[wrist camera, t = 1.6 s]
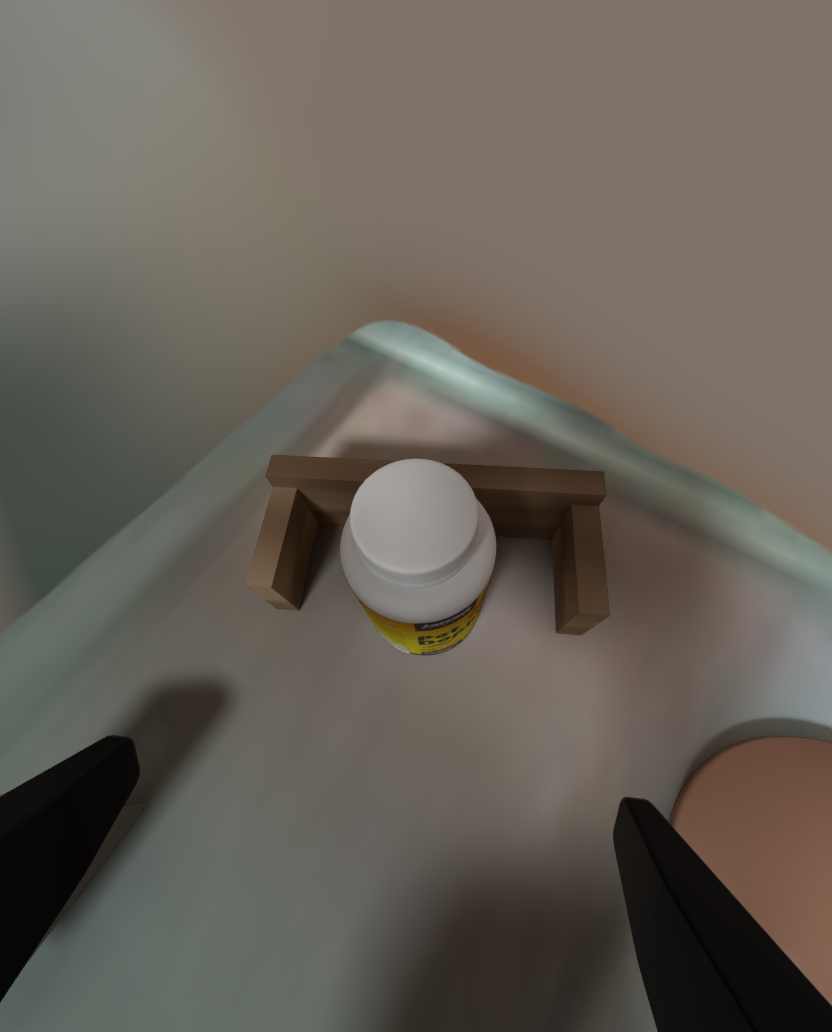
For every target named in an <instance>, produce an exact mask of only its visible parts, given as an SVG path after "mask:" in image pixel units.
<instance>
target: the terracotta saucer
mask: <svg viewBox="0 0 832 1032" xmlns="http://www.w3.org/2000/svg"><path fill="white" fill-rule="evenodd" d="M669 823H670V824H671V825H672V827H673V828H674V829H675V830H676V831H677V832H678V833H679V834H680V836H681V837H682V838H683V839H684V840H685V841H686V842H687V843H688V845H689V846H690V847H691V848H692V849H693V850H694V851H695V852H696V853H697V855H698V856H699V857H700V858H701V859H702V860H703V861H704V862H705V864H706V865H707V866H708V867H709V868H710V869H711V870H712V871H713V873H714V874H715V875H716V876H717V877H718V878H719V879H720V880H721V882H722V883H723V884H724V885H725V886H726V887H727V888H728V889H729V891H730V892H731V893H732V894H733V895H734V896H735V897H736V898H737V900H738V901H739V902H740V903H741V904H742V905H743V906H744V907H745V909H746V910H747V911H748V912H749V913H750V914H751V915H752V916H753V918H754V919H755V920H756V921H757V922H758V923H759V924H760V925H761V927H762V928H763V929H764V930H765V931H766V932H767V933H768V934H769V936H770V937H771V938H772V939H773V940H774V941H775V942H776V943H777V945H778V946H779V947H780V948H781V949H782V950H783V951H784V952H785V954H786V955H787V956H788V957H789V958H790V959H791V960H792V961H793V963H794V964H795V965H796V966H797V967H798V968H799V969H800V970H801V972H802V973H803V974H804V975H805V976H806V977H807V978H808V979H809V981H810V982H811V983H812V984H813V985H814V986H815V987H816V988H817V990H818V991H819V992H820V993H821V994H822V995H823V996H824V997H825V999H826V1000H827V1001H828V1002H829V1003H830V1004H831V1005H832V743H828V742H824V741H820V740H815V739H806V738H798V737H763V738H757V739H751V740H745V741H742V742H740V743H737V744H734V745H731V746H728V747H727V748H725V749H723V750H721V751H719V752H717V753H716V754H714V755H713V756H711V757H710V758H709V759H708V760H706V761H705V762H704V763H703V764H702V765H700V767H699V768H698V769H697V770H696V771H695V772H694V773H693V775H692V776H691V777H690V778H689V779H688V781H687V783H686V784H685V786H684V788H683V789H682V791H681V792H680V794H679V796H678V799H677V801H676V804H675V806H674V808H673V811H672V814H671V818H670V822H669Z"/></svg>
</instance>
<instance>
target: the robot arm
mask: <svg viewBox="0 0 832 1032" xmlns="http://www.w3.org/2000/svg"><path fill="white" fill-rule="evenodd" d="M139 774H140V766H139V762H138V757H137V753H136V749H135V745H134V742H133V740H132V739H131V738H130V737H124V736H116V735H111V736H107V737H105V738H103V739H101V740H99V741H97V742H96V743H94V744H92V745H90V746H89V747H87V748H85V749H83V750H81V751H80V752H78V753H76V754H74V755H73V756H71V757H69V758H67V759H66V760H64V761H62V762H60V763H58V764H57V765H55V766H53V767H51V768H50V769H48V770H46V771H44V772H43V773H41V774H39V775H37V776H35V777H34V778H32V779H30V780H28V781H27V782H25V783H23V784H21V785H19V786H18V787H16V788H14V789H12V790H11V791H9V792H7V793H5V794H4V795H2V796H0V1002H1V1001H2V999H3V998H4V996H5V995H6V993H7V992H8V990H9V989H10V987H11V986H12V984H13V983H14V981H15V980H16V978H17V977H18V975H19V974H20V972H21V971H22V969H23V968H24V966H25V965H26V963H27V962H28V960H29V959H30V957H31V956H32V954H33V953H34V951H35V950H36V948H37V947H38V945H39V944H40V942H41V941H42V939H43V938H44V936H45V934H46V933H47V931H48V930H49V928H50V927H51V925H52V924H53V922H54V921H55V919H56V918H57V916H58V915H59V913H60V912H61V910H62V909H63V907H64V906H65V904H66V903H67V901H68V900H69V898H70V897H71V895H72V894H73V892H74V891H75V889H76V888H77V886H78V885H79V883H80V881H81V880H82V878H83V877H84V875H85V873H86V872H87V870H88V868H89V867H90V865H91V863H92V862H93V860H94V858H95V856H96V855H97V853H98V851H99V849H100V848H101V846H102V844H103V842H104V840H105V839H106V837H107V835H108V833H109V832H110V830H111V828H112V826H113V824H114V823H115V821H116V819H117V817H118V816H119V814H120V812H121V810H122V808H123V807H124V805H125V803H126V801H127V800H128V798H129V796H130V794H131V792H132V791H133V789H134V787H135V785H136V783H137V781H138V778H139ZM613 841H614V848H615V853H616V858H617V863H618V868H619V873H620V878H621V883H622V887H623V892H624V897H625V902H626V907H627V912H628V917H629V922H630V927H631V932H632V937H633V942H634V946H635V951H636V955H637V960H638V964H639V968H640V971H641V975H642V979H643V982H644V986H645V989H646V993H647V996H648V1000H649V1003H650V1007H651V1010H652V1013H653V1017H654V1020H655V1024H656V1027H657V1031H658V1032H832V1005H831V1004H830V1003H829V1002H828V1001H827V1000H826V999H825V997H824V996H823V995H822V994H821V993H820V992H819V991H818V990H817V988H816V987H815V986H814V985H813V984H812V983H811V982H810V981H809V979H808V978H807V977H806V976H805V975H804V974H803V973H802V972H801V970H800V969H799V968H798V967H797V966H796V965H795V964H794V963H793V961H792V960H791V959H790V958H789V957H788V956H787V955H786V954H785V952H784V951H783V950H782V949H781V948H780V947H779V946H778V945H777V943H776V942H775V941H774V940H773V939H772V938H771V937H770V936H769V934H768V933H767V932H766V931H765V930H764V929H763V928H762V927H761V925H760V924H759V923H758V922H757V921H756V920H755V919H754V918H753V916H752V915H751V914H750V913H749V912H748V911H747V910H746V909H745V907H744V906H743V905H742V904H741V903H740V902H739V901H738V900H737V898H736V897H735V896H734V895H733V894H732V893H731V892H730V891H729V889H728V888H727V887H726V886H725V885H724V884H723V883H722V882H721V880H720V879H719V878H718V877H717V876H716V875H715V874H714V873H713V871H712V870H711V869H710V868H709V867H708V866H707V865H706V864H705V862H704V861H703V860H702V859H701V858H700V857H699V856H698V855H697V853H696V852H695V851H694V850H693V849H692V848H691V847H690V846H689V845H688V843H687V842H686V841H685V840H684V839H683V838H682V837H681V836H680V834H679V833H678V832H677V831H676V830H675V829H674V828H673V827H672V825H671V824H670V823H669V822H668V821H667V820H666V819H665V818H664V816H663V815H662V814H661V813H660V812H659V811H658V810H657V809H656V807H655V806H654V805H653V804H652V803H651V802H649V801H648V800H645V799H640V798H632V797H624V798H623V799H622V800H621V802H620V805H619V809H618V813H617V818H616V822H615V826H614V830H613Z"/></svg>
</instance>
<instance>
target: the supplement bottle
mask: <svg viewBox="0 0 832 1032" xmlns="http://www.w3.org/2000/svg"><path fill="white" fill-rule="evenodd" d="M340 555H341V563H342V568H343V571H344V574H345V576H346V579H347V581H348V583H349V585H350V587H351V588H352V590H353V592H354V593H355V595H356V597H357V598H358V600H359V602H360V603H361V605H362V606H363V608H364V609H365V611H366V613H367V614H368V616H369V617H370V619H371V620H372V622H373V624H374V625H375V627H376V629H377V630H378V632H379V633H380V634H381V635H382V637H383V638H384V639H385V640H386V641H387V642H388V643H390V644H391V645H392V646H394V647H395V648H397V649H398V650H400V651H403V652H405V653H408V654H412V655H417V656H433V655H438V654H441V653H444V652H447V651H449V650H451V649H452V648H454V647H455V646H457V645H458V644H460V643H461V642H462V641H463V640H464V639H465V638H466V637H467V636H468V634H469V633H470V632H471V630H472V628H473V627H474V625H475V622H476V620H477V618H478V615H479V611H480V608H481V606H482V603H483V599H484V596H485V593H486V590H487V587H488V584H489V581H490V578H491V575H492V571H493V568H494V563H495V558H496V537H495V532H494V528H493V525H492V522H491V520H490V517H489V515H488V514H487V512H486V510H485V509H484V507H483V506H482V505H481V503H480V502H479V501H478V500H477V499H476V497H475V495H474V492H473V490H472V488H471V487H470V485H469V484H468V482H467V481H466V480H465V479H464V478H463V477H462V476H461V475H460V474H459V473H458V472H456V471H455V470H454V469H452V468H450V467H448V466H446V465H444V464H442V463H439V462H436V461H433V460H427V459H405V460H400V461H396V462H393V463H390V464H388V465H386V466H384V467H382V468H380V469H378V470H377V471H375V472H374V473H373V474H372V475H370V476H369V477H368V478H367V479H366V480H365V481H364V482H363V484H362V485H361V486H360V487H359V489H358V491H357V492H356V494H355V497H354V499H353V502H352V505H351V510H350V515H349V517H348V519H347V521H346V523H345V526H344V529H343V532H342V537H341V543H340Z"/></svg>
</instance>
